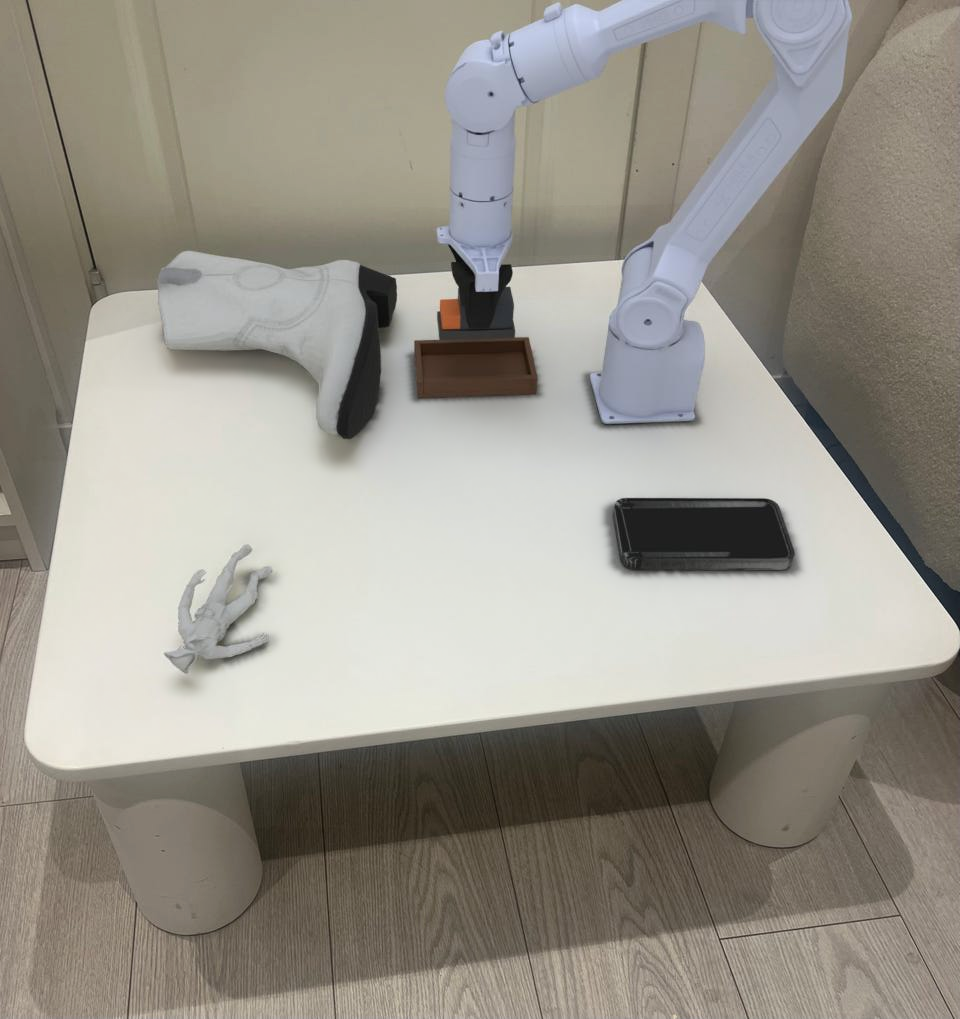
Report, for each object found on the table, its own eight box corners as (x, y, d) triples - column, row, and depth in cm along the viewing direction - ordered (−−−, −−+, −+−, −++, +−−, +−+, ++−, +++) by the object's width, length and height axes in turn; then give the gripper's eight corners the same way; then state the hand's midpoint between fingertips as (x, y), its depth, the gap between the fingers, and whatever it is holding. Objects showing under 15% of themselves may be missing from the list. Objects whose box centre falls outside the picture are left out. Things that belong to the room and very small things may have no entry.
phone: (613, 497, 92) (776, 498, 92) (611, 506, 92) (773, 506, 93) (624, 561, 86) (798, 561, 87) (622, 570, 87) (795, 570, 87)
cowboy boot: (404, 242, 110) (178, 226, 111) (356, 378, 89) (78, 356, 90) (405, 319, 116) (191, 304, 117) (361, 464, 95) (100, 442, 96)
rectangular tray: (527, 352, 109) (528, 336, 108) (536, 394, 104) (537, 377, 103) (414, 356, 108) (414, 340, 107) (417, 398, 103) (417, 381, 102)
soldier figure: (298, 594, 85) (250, 676, 75) (259, 622, 87) (207, 706, 76) (234, 527, 83) (176, 602, 73) (195, 557, 85) (133, 634, 74)
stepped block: (510, 317, 103) (512, 285, 100) (514, 338, 101) (516, 305, 98) (437, 319, 102) (437, 286, 100) (439, 340, 100) (439, 307, 97)
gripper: (432, 151, 96) (432, 276, 105) (442, 228, 85) (441, 359, 95) (506, 150, 96) (499, 274, 106) (525, 226, 86) (516, 357, 96)
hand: (477, 315), depth 100 cm, fingers closed on stepped block, 3 cm apart
